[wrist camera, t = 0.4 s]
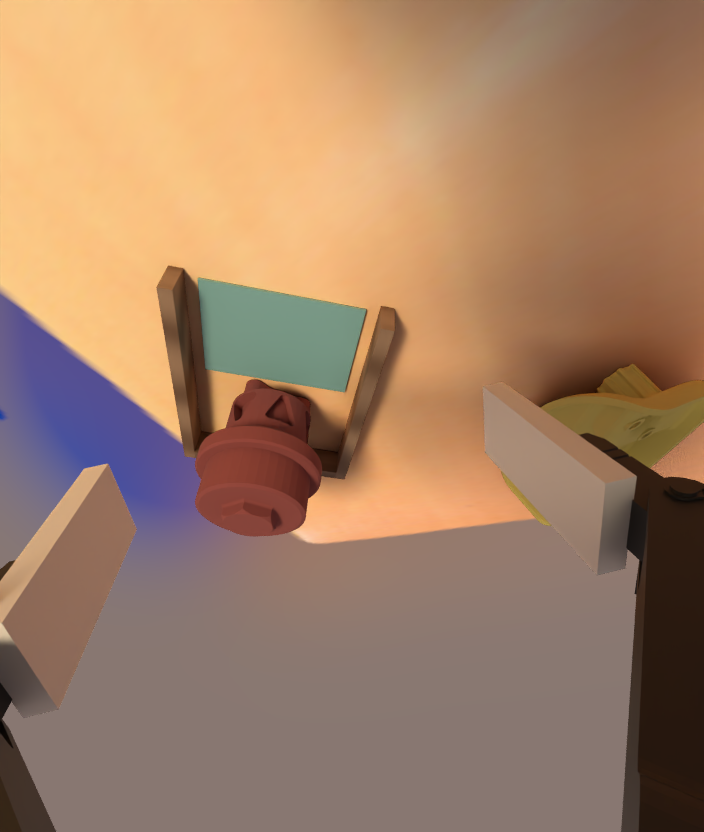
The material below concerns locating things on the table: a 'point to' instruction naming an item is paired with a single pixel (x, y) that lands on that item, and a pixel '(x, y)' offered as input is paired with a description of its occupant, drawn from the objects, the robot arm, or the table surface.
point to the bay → (271, 349)
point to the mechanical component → (259, 465)
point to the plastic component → (630, 417)
